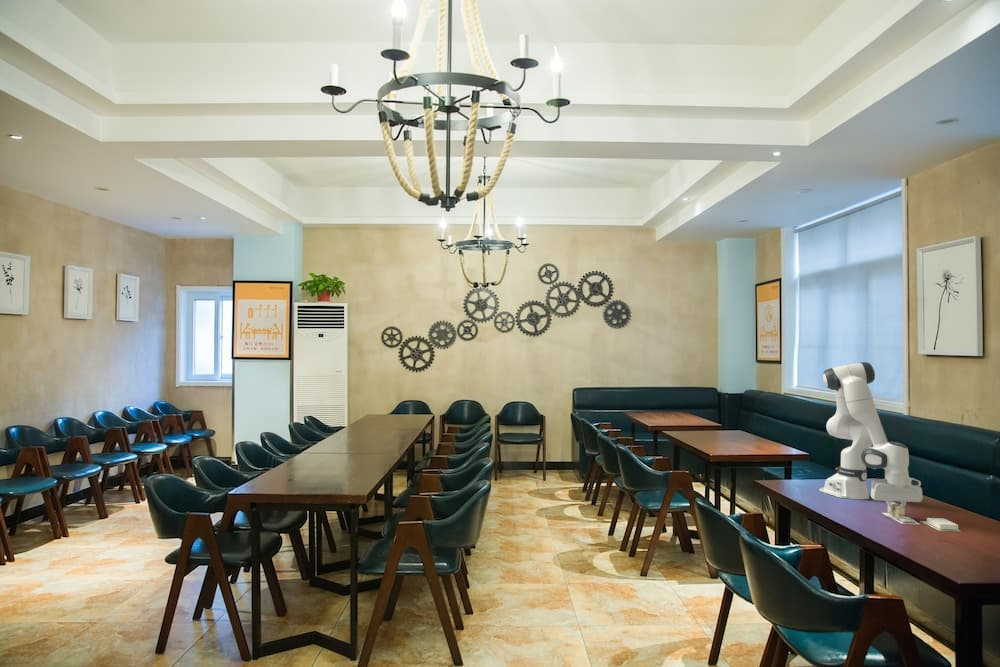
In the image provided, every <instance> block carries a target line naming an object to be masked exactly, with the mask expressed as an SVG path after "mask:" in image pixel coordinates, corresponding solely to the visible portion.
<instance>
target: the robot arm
mask: <svg viewBox="0 0 1000 667" xmlns="http://www.w3.org/2000/svg"><path fill="white" fill-rule="evenodd" d="M822 374H823V375H822V381H823V384H824V385H825V386H826V388H827V389H829V390H831V391H834V395H835V396H834V397H835V401H836V402H835V403H836V411H835V414H834V415H832V417H830V418H829V419H828V420H827V421H826V425H825V427H826V431H827V433H828V434H829V436H832V437H835V438H838V439H844V440H850V441H852V443H851V446H846V447H845V448H843V449H842V450H841V452H840V465H839V466H837V467H835V469H834V470H837V471H836V473H834V474H833V475H832V476H830V477H828V478H826V480H825V482H824V485H823V487H819V490H818V491H819V492H822V493H824V494H828V495H832V496H834V497H837V498H840V499H852V500H869V499H870V497H871V499H873V500H875V501H881V502H882V501H884V502H885V503H886V505H887V507H888V506H889V511H894V507H892V506H891V504H890V503H892V502H900V504H899V505H900V506H902V507H904V508H905V507H906V505H907V502H908V503H910V502H911V503H921V502H922V501H923V488H922V487H921V485H922V482H921V481H920V480H919V479H916V478H914V477H911V476H910V474H909V465H910V456H909V455H910V454H909V448H908V447H907V446H906V445H905V444H904V443H902V442H896V441H893V440H891V441H889V439H888V438H887V437H888V436H887V434H886V432H885V429H884V426H883V424H882V420H881V419H880V417H879V413H878V411H877V407H876V405H875V401H874V397H873V395H872V392H871V390H870V387H869V384H871V383H873V382H874V381H875V379H876V372H875V369H874V367H873V366H872V364H871V363H870V362H868V361H867V362H866V361H865V362H864V361H860V362H857V363H856V362H855V363H849V364H843V365H840V366H836V367H833V368H832V367H829V368H827V369H825V370H824V372H823V373H822ZM867 468H869V469H872V470H877V469H884V478H874V479H873V480H871V488H870V489H871V490H870V496H869V492H868V487H867V477H868V469H867Z"/></svg>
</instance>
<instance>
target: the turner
mask: <svg viewBox="0 0 1000 667" xmlns="http://www.w3.org/2000/svg"><path fill="white" fill-rule="evenodd" d="M890 504H891V506H892V507H894V511H889V506H888V505H887V513H891V514H893V515H895V518H897V519H899V520H901V521H903V522H916V520H915V519H913V518H911V517H909V516H905V514H906V508H905V507H902V506H900V505H901V504H898V503H897V502H895V501H892V503H890Z"/></svg>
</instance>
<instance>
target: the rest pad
mask: <svg viewBox="0 0 1000 667" xmlns="http://www.w3.org/2000/svg"><path fill="white" fill-rule="evenodd" d="M882 514H883V515H885V516H886V517H888V518H890V519H892V520H894V521H896V522H898V523H900V524H901V525H920V524H921V523H919V522H903V521H901V520H899V519H897V518H895V515H893V514H891V513H889V512H882Z"/></svg>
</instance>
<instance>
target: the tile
mask: <svg viewBox="0 0 1000 667" xmlns="http://www.w3.org/2000/svg"><path fill="white" fill-rule="evenodd" d="M926 521H927V523H929V524H931V525H933V526H935V527H937V528H939V529H945V530H959V525H958V524H957V523H955V522H953V521H950V520H948V519H946V518H938V517H936V518H935V517H926Z"/></svg>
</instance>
